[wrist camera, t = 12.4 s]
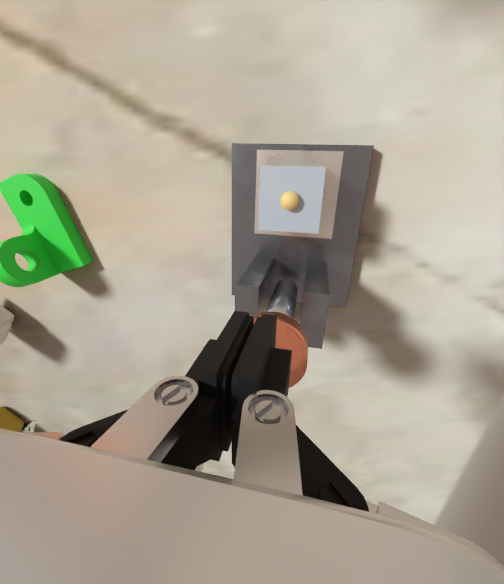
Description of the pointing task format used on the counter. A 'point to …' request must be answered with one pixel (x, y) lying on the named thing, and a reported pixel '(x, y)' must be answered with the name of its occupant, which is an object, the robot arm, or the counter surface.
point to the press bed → (292, 245)
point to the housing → (290, 198)
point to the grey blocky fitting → (5, 323)
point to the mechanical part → (39, 232)
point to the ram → (288, 327)
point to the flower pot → (10, 420)
